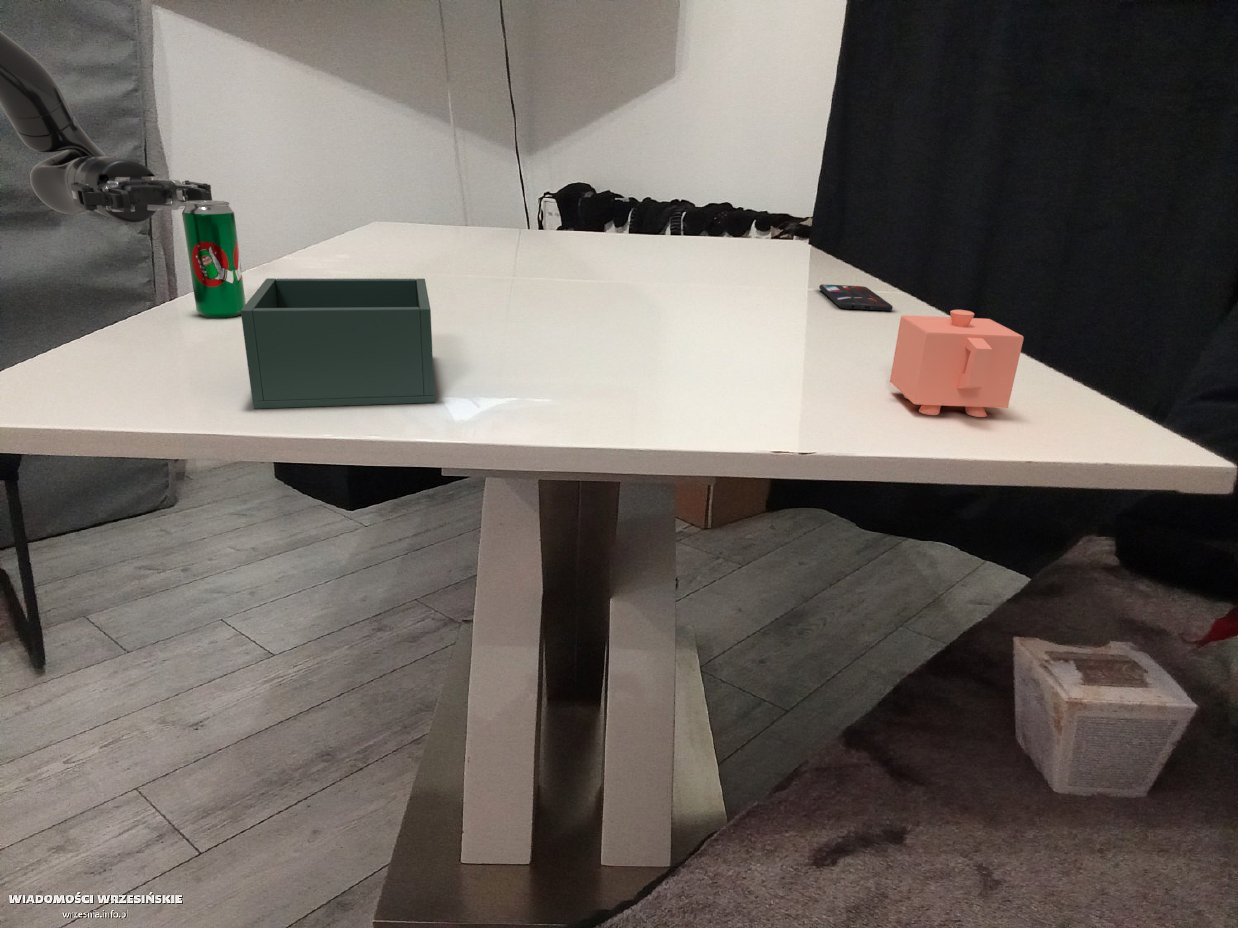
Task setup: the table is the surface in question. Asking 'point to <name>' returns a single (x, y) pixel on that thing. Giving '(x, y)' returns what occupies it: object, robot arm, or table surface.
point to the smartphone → (855, 297)
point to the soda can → (214, 258)
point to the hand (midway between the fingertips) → (167, 200)
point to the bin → (339, 342)
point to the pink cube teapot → (955, 362)
